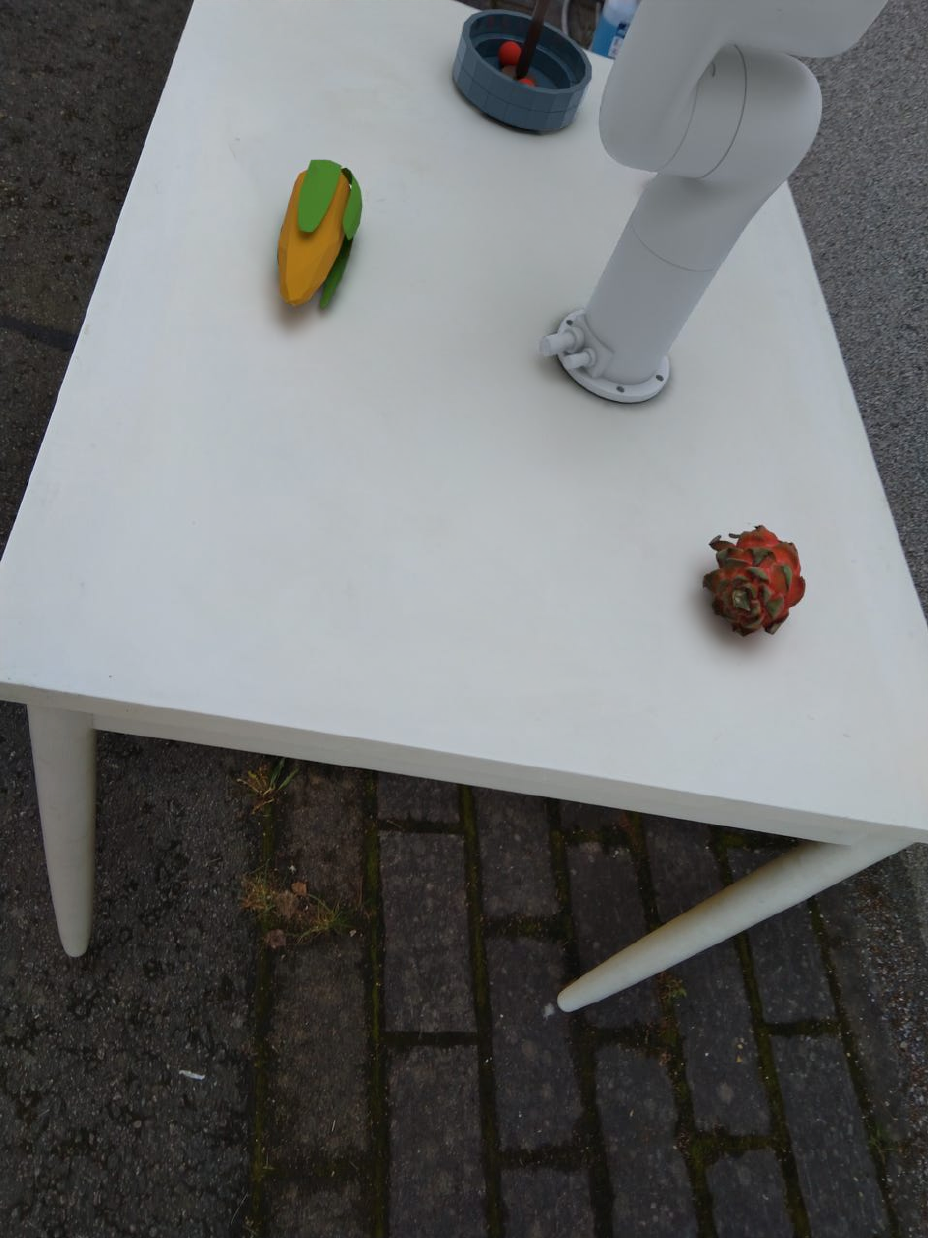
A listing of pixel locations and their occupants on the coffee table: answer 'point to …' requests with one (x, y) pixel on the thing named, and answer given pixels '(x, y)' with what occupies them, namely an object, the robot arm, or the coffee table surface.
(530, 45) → the brown disc-base rod
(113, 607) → the coffee table surface
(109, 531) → the coffee table surface
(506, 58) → the tomato
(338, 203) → the corn
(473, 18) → the bowl
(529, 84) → the tomato
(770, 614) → the dragon fruit
